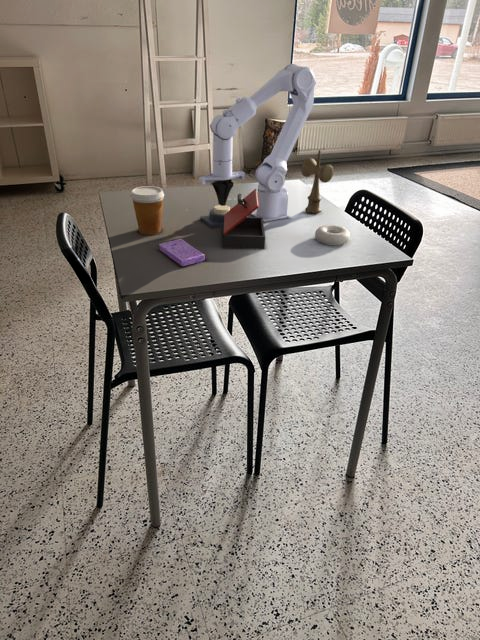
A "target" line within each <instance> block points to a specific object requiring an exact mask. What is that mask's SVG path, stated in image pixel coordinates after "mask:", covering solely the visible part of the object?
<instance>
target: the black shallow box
mask: <svg viewBox="0 0 480 640" xmlns="http://www.w3.org/2000/svg"><path fill="white" fill-rule="evenodd" d="M265 244H266V232H265V224H264V222H263V217H255V216H248V217H246V218H245V219H244V220H243V221H242V222H240V223H239V224H238V225H237V226H235V227H234V228H233V229H232V230H231V231H229V232H228V233H227V234H226V235H224V234H223V248H224V249H248V250H249V249H250V250H251V249H253V250H265V246H266V245H265Z"/></svg>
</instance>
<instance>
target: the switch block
mask: <svg viewBox="0 0 480 640" xmlns="http://www.w3.org/2000/svg"><path fill="white" fill-rule="evenodd" d="M231 209H232V208H230V210H231ZM224 216H225V215H219V214H215V213H214V208H212V209H209V214H207V215H201V216H200V220H201V221H202V222H203V223H205V224H206V225H207V226H209V227H210V228H219V227H224Z"/></svg>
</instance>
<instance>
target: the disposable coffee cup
mask: <svg viewBox="0 0 480 640" xmlns="http://www.w3.org/2000/svg"><path fill="white" fill-rule="evenodd" d="M164 197H165V193H164V191H163V189H162V188H161V187H158V186H154V185H142V186H137V187H135V188H133V189H132V190H131V192H130V198H131V201H132V203H133V209H134V214H135V218H136V222H137V228H138V232H139V233H140V234H141V235H147V236H149V235H151V236H152V235H157V234H159V233H161V231H162V220H163V219H162V218H163V205H164V204H163V203H164Z"/></svg>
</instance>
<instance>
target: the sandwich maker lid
mask: <svg viewBox="0 0 480 640" xmlns="http://www.w3.org/2000/svg"><path fill="white" fill-rule="evenodd" d="M257 192H258V189H257V188H254V189H253V190H252V191H251V192H250V193H248V194H247V195H246V196H244V195H243V193H238V194H237V203H236V204H235V205H234V206H233V207H232V208H230V209H231V210H229V211H228V212H227V213H226V214H225V216H224V226H223V236H224V235H226V234H227V233H228V232H229V231H231V230H232V229H233V228H234V227H235V226H237V225H238V224H239V223H240V222H242V221H243V220H244V219H245V218H246V217H250V216H251V213H253V212H256V211H257V208H259V205H258V197H257Z"/></svg>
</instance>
